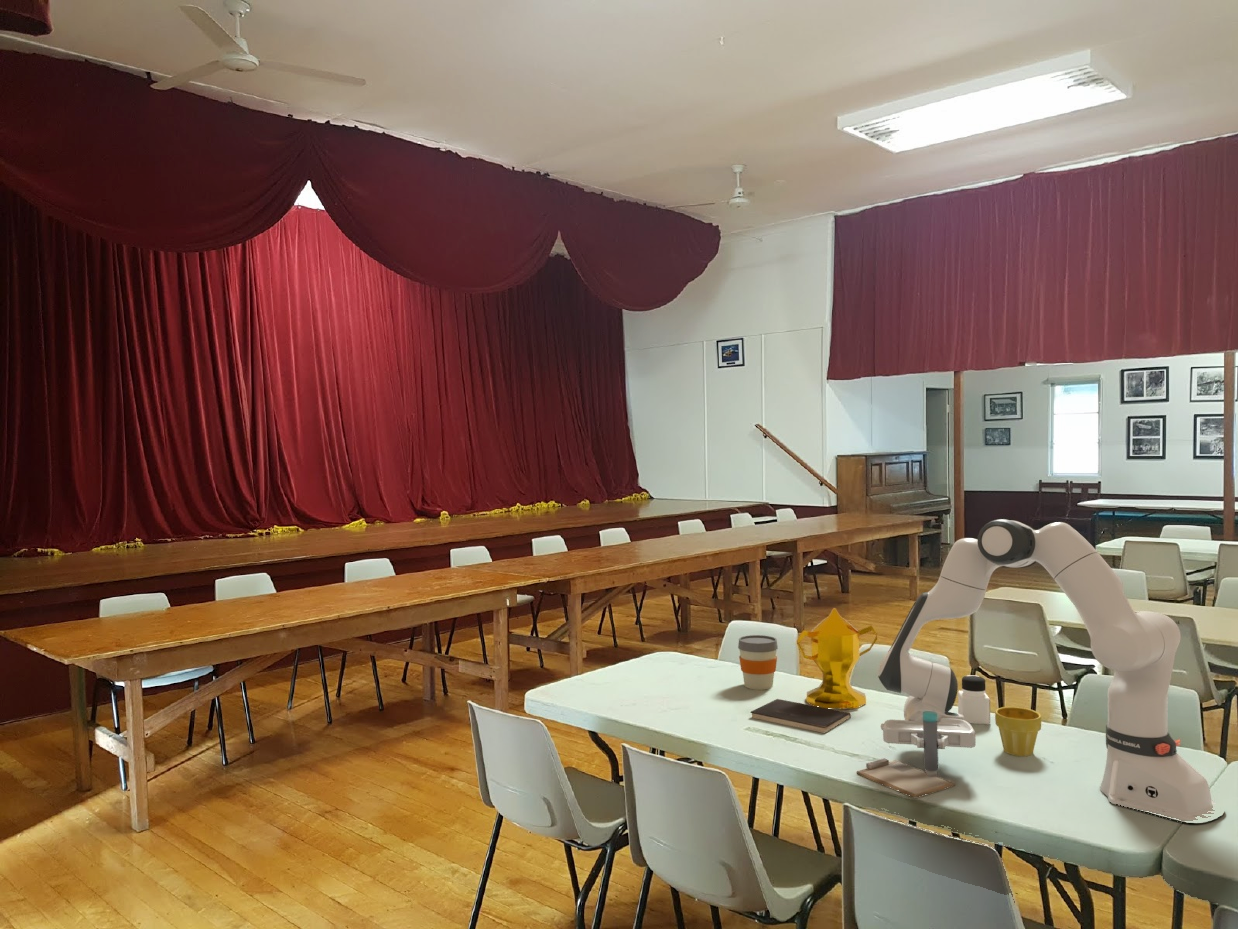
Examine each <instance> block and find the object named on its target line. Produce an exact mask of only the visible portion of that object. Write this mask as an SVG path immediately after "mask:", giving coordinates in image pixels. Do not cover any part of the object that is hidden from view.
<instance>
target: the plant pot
mask: <svg viewBox="0 0 1238 929" xmlns="http://www.w3.org/2000/svg"><path fill="white" fill-rule="evenodd" d="M994 716H995V717H994V718H995V719H994V720H995V725H996V726H997V727H998V731H999V735H1000V740H1001V744H1002V749H1003V751H1004V752H1005V753H1006V754H1008V755H1011V756H1015V757H1029V756H1031V755H1033V754H1034V750H1035V745H1036V741H1037V737H1038V733H1039V732H1040V730H1042V714H1041V713H1040V712H1038V711H1035V710H1033V709H1030V708H1027V707H1020V706H1019V707H1018V706H1002V707H999V708H997V709H995V714H994Z"/></svg>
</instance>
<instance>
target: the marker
mask: <svg viewBox="0 0 1238 929" xmlns="http://www.w3.org/2000/svg"><path fill="white" fill-rule="evenodd" d="M923 739H924V748H923V766H924V767H923V768H924V769H925V772H926V775H927V776H929V777H936V776H938V770H939V749H938V734H937V713H936V712H933V711H924V712H923Z"/></svg>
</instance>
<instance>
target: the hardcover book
mask: <svg viewBox="0 0 1238 929" xmlns="http://www.w3.org/2000/svg"><path fill="white" fill-rule="evenodd" d="M750 714H751V717H752V719H758V720H761V721H767V722H771V723H775V724H776V723H777V724H781V725H785V726H789V727H794V728H798V729H804V730H808V729H809V731H815V732H818V733H822V732H826V733H827V732H830V731H831V730H833V729H835V728H836V727H837V725H838V724H839V725H840V723H841V722H843V723H844V722H846V721H847V720H846V719H848V718H849V719H851V718H852V717H851V716H852V715H851V712H848V711H843V710H839V709H828V708H823V707H817V706H813V705H811V704H808V703H807V704H806V703H800V702H797V701H796V702H795V701H790V700H786V699H785V700H784V699H779V698H777V699H774V700H772V701H770V702H768V703H765V704H764V705H762V706H759V707H758V708H755V709H753V710H751V711H750ZM849 719H848V720H849ZM845 720H846V721H845ZM841 724H842V723H841ZM839 725H838V726H839ZM835 726H836V727H835ZM832 728H833V729H832ZM830 729H831V730H830Z"/></svg>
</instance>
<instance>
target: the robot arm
mask: <svg viewBox="0 0 1238 929" xmlns="http://www.w3.org/2000/svg"><path fill="white" fill-rule="evenodd" d="M1037 563H1038V564H1039V565H1041V566H1042V567H1043V568H1044V569H1045V570H1046V571H1047V573H1049V575H1050V576H1051V578H1053V580H1054V581H1055V583H1056V584H1057V585H1058V586H1059V588H1060V589H1061V590H1062V592H1063V593H1064V594H1065V595H1066V597H1067V598H1068V600H1069V601H1070V603H1071V604H1072V605H1073V606H1074V607H1075V609H1076V611H1077V612H1078V614H1079V616H1080V618H1081V619H1082V622H1083V623H1084V626H1085V628H1086V630H1087V633H1088V636H1089V638H1090V650H1091V653H1092V655H1093V657H1094V658H1095V660H1096V662H1098V663H1099V664H1100V665H1101V666H1102V667H1105V668H1107V669H1108V670H1111V671H1114V673H1113V678H1112V680H1111V682H1110V684H1109V686H1108V689H1107V724H1106V725H1105V746H1106V749H1107V750H1106V751H1107V752H1106V760H1105V767H1104V771H1103V772H1104V773H1103V777H1102V780H1101V783H1100V786H1099V790H1100V791H1101V792H1102V794H1104V795H1105V796H1106V797H1107V799H1108V802H1109V803H1110V802H1111V804H1113V805H1116V804H1118V805H1117V806H1120V805H1121V806H1120V807H1123V806H1124V807H1123V808H1127V807H1129V808H1128V809H1130V808H1135V809H1138V810H1143V811H1149V812H1152V813H1156V814H1161V815H1164V816H1167V817H1171V818H1176V819H1179V820H1181V821H1193V820H1198V819H1196V818H1195V817H1197V816H1200V817H1202V818H1208V817H1211V816H1208V817H1206V816H1204V815H1202V814H1214V813H1211V812H1208V811H1215V810H1213V809H1212V808H1213V804H1216V803H1213V801H1214V800H1212V795H1211V789H1210V785H1209V782H1208V780H1207V779H1206V778H1205V776H1204V775H1202V774H1201V773H1200V772H1199V771H1197V770H1196V769H1195V767H1193V766H1192V765H1191V764H1189V762H1187V761H1186V759H1184V758H1183V757H1182V756H1181V755H1180V754H1179V753H1178V751H1177V747H1179V746H1180V745H1182V744H1181V738H1180V739H1176V740H1174V739H1173V737H1171V734H1170V733H1169V731H1168V697H1169V690H1170V684H1171V680H1172V674H1173V669H1174V664H1175V658H1176V653H1177V650H1178V647H1179V645H1180V642H1181V636H1182V635H1181V631H1180V628H1179V626H1178V625H1177V623H1176V622H1175V620H1173V619H1172V618H1171V617H1169V616H1168V615H1166V614H1164V613H1161V612H1156V611H1149V610H1141V611H1137V612H1136V611H1135V610H1134V608H1133V607H1132V605H1131V604H1130V601H1129V600H1128V598H1127V595H1126V593H1125V591H1124V584H1123V582H1122V579H1121V578H1120V577H1119V576H1118V575H1117V573H1116V572H1115V571H1114V570H1113V569H1112V567H1111V566H1110V565H1109V564H1108V563H1107V562H1106V560H1105V558H1103V556H1102V555H1101V554H1100V553H1099V552H1098V550H1097V549H1096V548H1095V547H1094V546H1093V545H1092V544H1091V543H1090V542H1089V541H1088V540H1087V539H1086V538H1085V537H1084V536H1083V535H1082V534H1080V533H1079V531H1077V530H1076V529H1075V528H1074V527H1072V526H1071V525H1070V524H1069V523H1066V522H1062V521H1058V522H1057V521H1056V522H1051V523H1049V524H1047V525H1044V526H1043V527H1041V528H1038V529H1035V528H1034V527H1032V526H1030V525H1027V524H1025V523H1022V522H1020V521H1018V520H1009V519H1007V518H1006V519H1005V518H1003V519H1002V518H999V519H994V520H991V521H989V522H988V523H986V524H985V525H984V526H982V527H981V529H980V530H979V533H978V535H977V538H973V537H962V538H960V539H958V540H956V541H955V542H954V543H953V544H952V547H951V548H950V550H949V552H948V555H947V556H946V558H945V561H944V563H943V566H942V568H941V572H940V575H939V578H938V580H937V582H936V583H935V585H934V586H933V587H932V588H931V589H930V590H929V591H926V592H922V593H921V594H919V595H918V597H917V599H916V600H915V601H914V603H913V604H912V606H911V609H910V610H909V612H908V614H907V615H906V618H905V620H903V621H904V622H903V623H902V624H901V627H900V629H899V631H898V633H897V634H896V636H895V638H894V641H893V642H892V644H891V646H890V648H889V650H888V651H887V652H886V654H885V655H884V657H883V658H882V660H881V661H880V664H879V668H878V674H877V675H878V676H877V678H878V679H879V682H880V684H882V686H883V687H884V688H885V689H886V691H890V692H893V693H899V694H904V695H906V696H908V697H907V698H906V700H905V703H904V706H903V719H887V720H885V721H884V723H881V724H880V729H881V731H882V740H883V742H885V743H887V744H897V745H913V746H916V748H917V749H924V739H923V712H924V711H933V712H936V713H937V734H938V750H946V748H947V747H954V748H969V749H972V748H975V747H976V743H977V740H976V731H975V729H974V728H973V726H972V724H971V723H968V722H967V721H965V720H964V716H963V715H962V714H958V712H950V711H951V710H952V709H953V707H954V705H955V702H956V700H957V699H956V698H957V697H958V691H959V690H958V687H959V686H958V685H959V684H958V679H957V676H956V674H955V672H954V670H953V668H951V667H949V666H946V665H943V664H941V663H937V662H934V661H929V660H927V659H924V658H920V657H917V656H915V655H912V654H910V653H909V651H910V650H911V648H912V646H913V644H914V642H915V640H916V638H917V636H918V635H919V633H920V631H921V629H922V628H923V626H924V625H926V624H927V623H929V622H932V621H936V620H950V619H952V620H953V619H954V620H955V619H961V618H965V617H968V616H972V614H975V613H976V612H977V611H978V610H979V609H980V607H981V605H982V603H983V601H984V598H985V596H986V593H987V589H988V586H989V582H990V580H991V576H992V575H993V573H994V571H995V570H996V569H998V568H1011V569H1012V568H1013V569H1014V568H1015V569H1022V568H1023V569H1024V568H1029V567H1031V566H1033V565H1035V564H1037ZM1138 810H1137V811H1138ZM1207 812H1208V813H1207Z"/></svg>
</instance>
